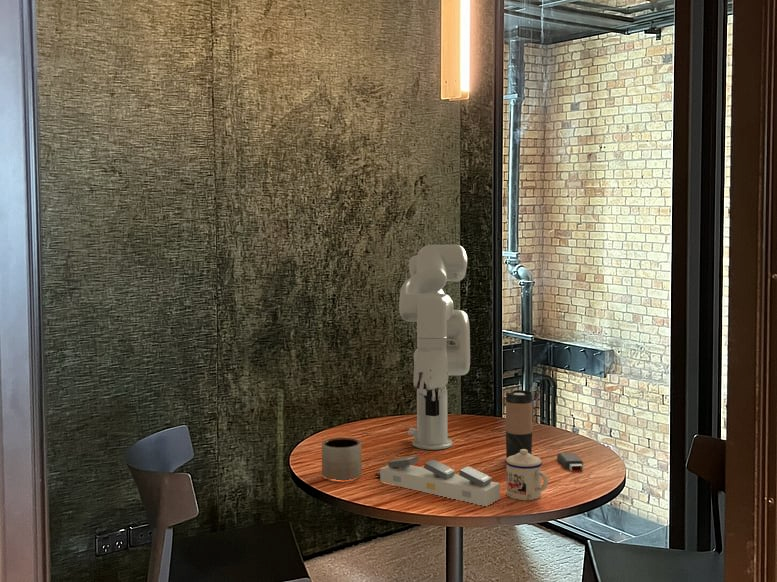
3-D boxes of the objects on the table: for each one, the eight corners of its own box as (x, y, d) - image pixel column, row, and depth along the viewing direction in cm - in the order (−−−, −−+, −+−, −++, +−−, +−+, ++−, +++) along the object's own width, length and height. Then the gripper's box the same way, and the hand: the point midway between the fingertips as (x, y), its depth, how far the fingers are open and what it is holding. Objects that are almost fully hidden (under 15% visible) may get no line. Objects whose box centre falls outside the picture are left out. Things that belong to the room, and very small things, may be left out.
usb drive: (574, 460, 225) (574, 451, 225) (586, 472, 213) (586, 462, 213) (557, 460, 225) (557, 451, 225) (567, 473, 213) (567, 463, 213)
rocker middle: (423, 467, 198) (424, 462, 198) (432, 464, 201) (433, 459, 201) (446, 479, 194) (447, 474, 194) (454, 475, 197) (455, 470, 197)
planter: (331, 485, 203) (330, 450, 203) (316, 474, 213) (315, 440, 212) (368, 479, 208) (368, 444, 208) (351, 468, 218) (351, 435, 217)
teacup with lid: (498, 494, 195) (498, 449, 194) (522, 486, 200) (522, 443, 200) (534, 507, 185) (534, 459, 185) (558, 498, 191) (559, 452, 190)
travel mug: (532, 464, 220) (532, 395, 218) (505, 463, 221) (505, 394, 220) (532, 457, 227) (532, 390, 226) (506, 456, 229) (506, 389, 227)
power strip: (368, 480, 207) (367, 462, 207) (383, 473, 213) (383, 456, 212) (486, 507, 186) (486, 487, 185) (500, 498, 191) (500, 479, 191)
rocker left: (389, 467, 204) (387, 462, 205) (397, 463, 208) (396, 458, 208) (409, 465, 200) (408, 459, 201) (418, 461, 204) (417, 455, 204)
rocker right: (458, 475, 192) (460, 469, 191) (466, 471, 195) (468, 465, 195) (482, 487, 188) (484, 481, 188) (490, 482, 191) (491, 477, 191)
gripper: (434, 340, 204) (435, 408, 205) (403, 346, 192) (403, 418, 193) (459, 342, 200) (459, 412, 201) (428, 348, 188) (429, 422, 189)
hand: (432, 415), depth 197 cm, fingers closed
